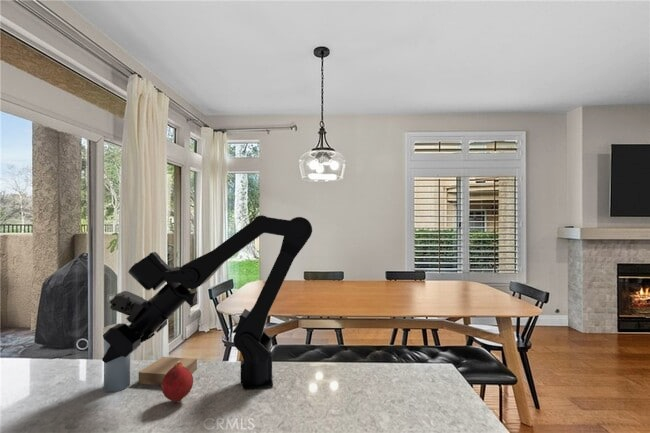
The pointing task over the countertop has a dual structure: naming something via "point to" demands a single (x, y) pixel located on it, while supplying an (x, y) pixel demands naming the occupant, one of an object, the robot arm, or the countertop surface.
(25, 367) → the countertop surface
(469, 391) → the countertop surface
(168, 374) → the onion
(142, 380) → the block
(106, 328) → the tumbler
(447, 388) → the countertop surface
